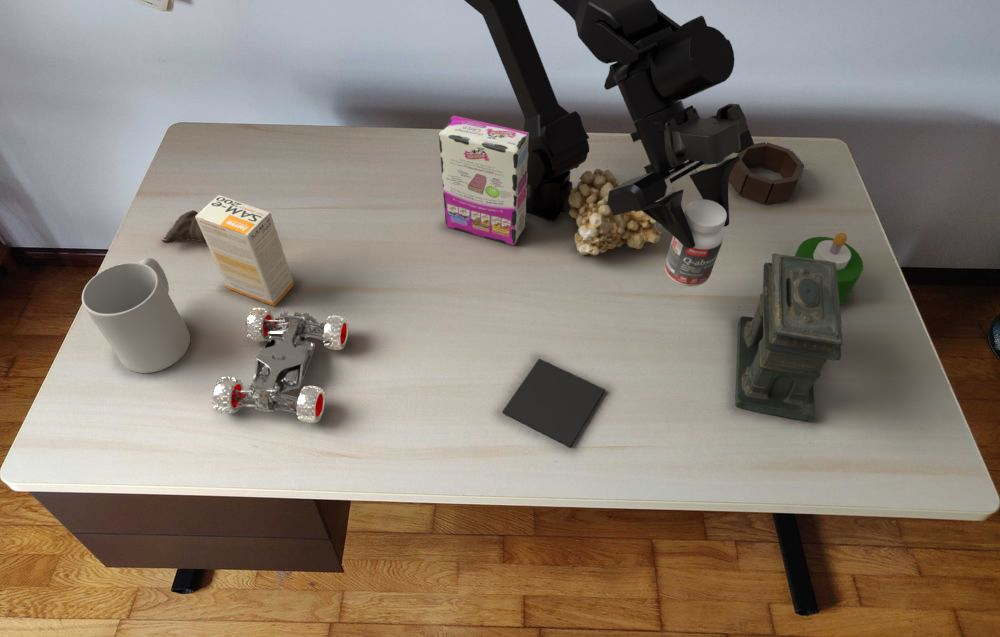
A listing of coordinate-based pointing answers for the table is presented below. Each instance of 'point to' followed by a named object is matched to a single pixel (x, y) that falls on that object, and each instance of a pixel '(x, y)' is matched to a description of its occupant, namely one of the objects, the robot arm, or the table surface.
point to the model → (789, 337)
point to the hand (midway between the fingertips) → (708, 236)
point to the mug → (137, 315)
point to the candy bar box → (484, 178)
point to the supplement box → (246, 249)
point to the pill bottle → (697, 244)
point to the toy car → (282, 365)
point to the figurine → (185, 229)
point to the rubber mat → (554, 402)
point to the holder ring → (761, 186)
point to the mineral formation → (606, 217)
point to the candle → (835, 259)
